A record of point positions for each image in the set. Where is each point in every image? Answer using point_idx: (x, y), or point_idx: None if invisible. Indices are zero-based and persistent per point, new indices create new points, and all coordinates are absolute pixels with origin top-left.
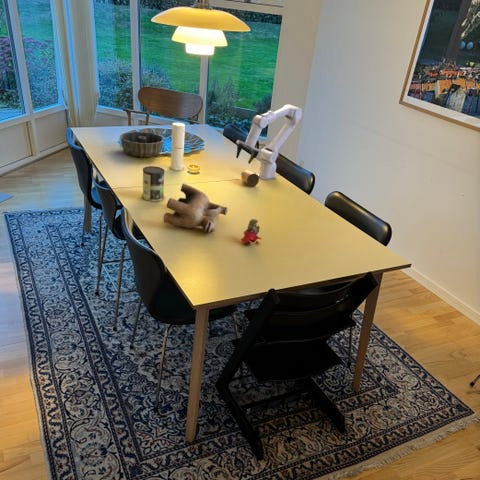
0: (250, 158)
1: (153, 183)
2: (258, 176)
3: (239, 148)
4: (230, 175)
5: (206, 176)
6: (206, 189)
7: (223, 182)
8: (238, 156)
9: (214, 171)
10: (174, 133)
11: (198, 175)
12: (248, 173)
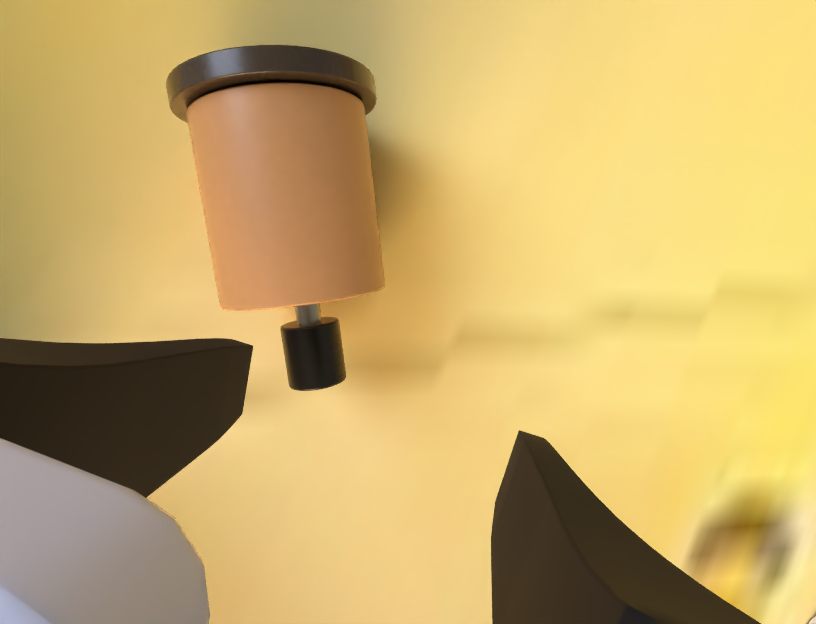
0: (159, 438)
1: None
2: (173, 73)
3: (703, 592)
4: (408, 494)
5: (667, 457)
6: (792, 119)
7: (566, 289)
8: (527, 443)
9: None
10: None
11: (728, 481)
12: (329, 161)
